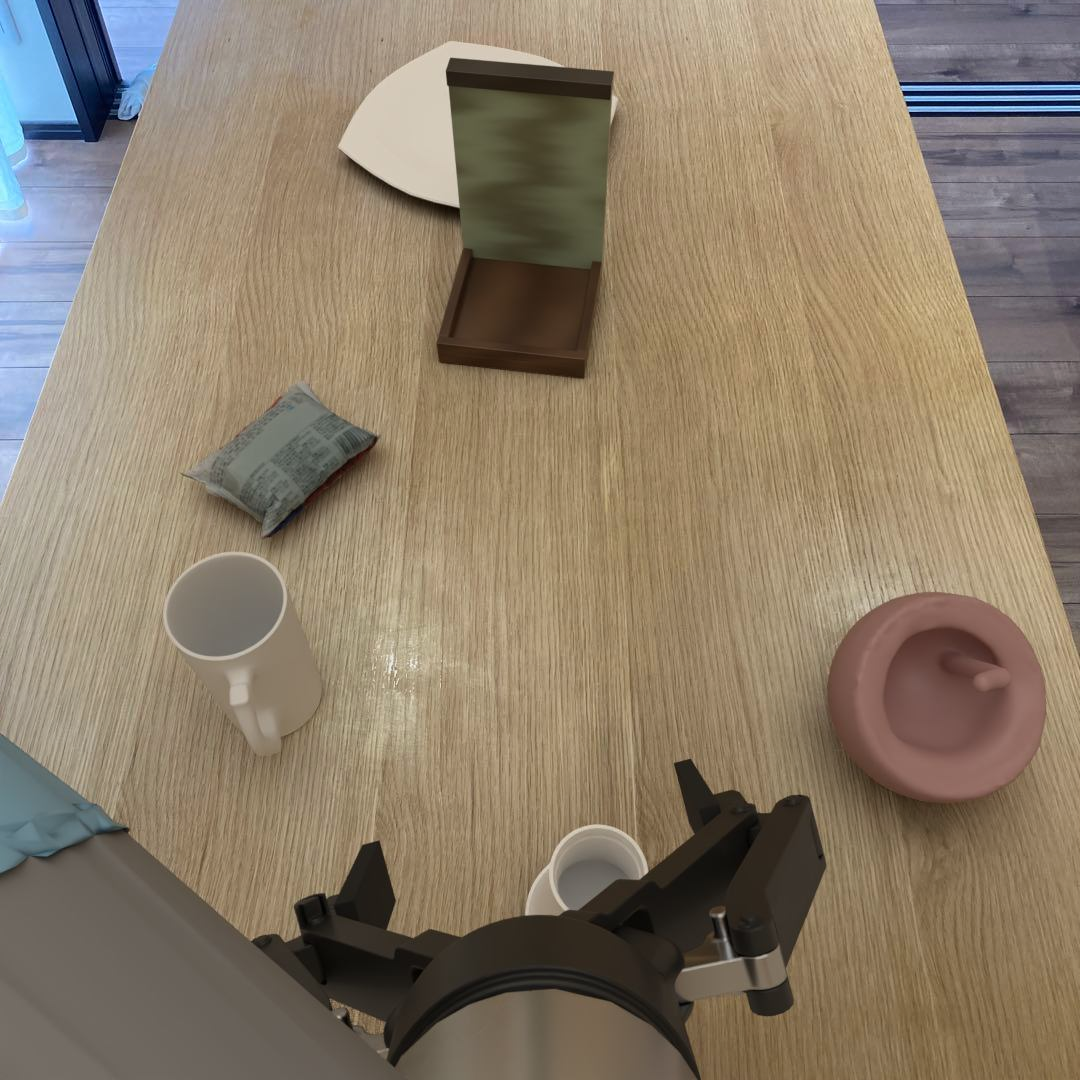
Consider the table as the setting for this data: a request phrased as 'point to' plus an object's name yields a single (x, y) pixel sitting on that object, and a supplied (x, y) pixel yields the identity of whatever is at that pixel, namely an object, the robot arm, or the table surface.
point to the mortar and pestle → (938, 697)
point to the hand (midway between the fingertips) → (534, 831)
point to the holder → (527, 214)
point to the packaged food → (284, 459)
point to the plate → (419, 123)
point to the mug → (245, 645)
